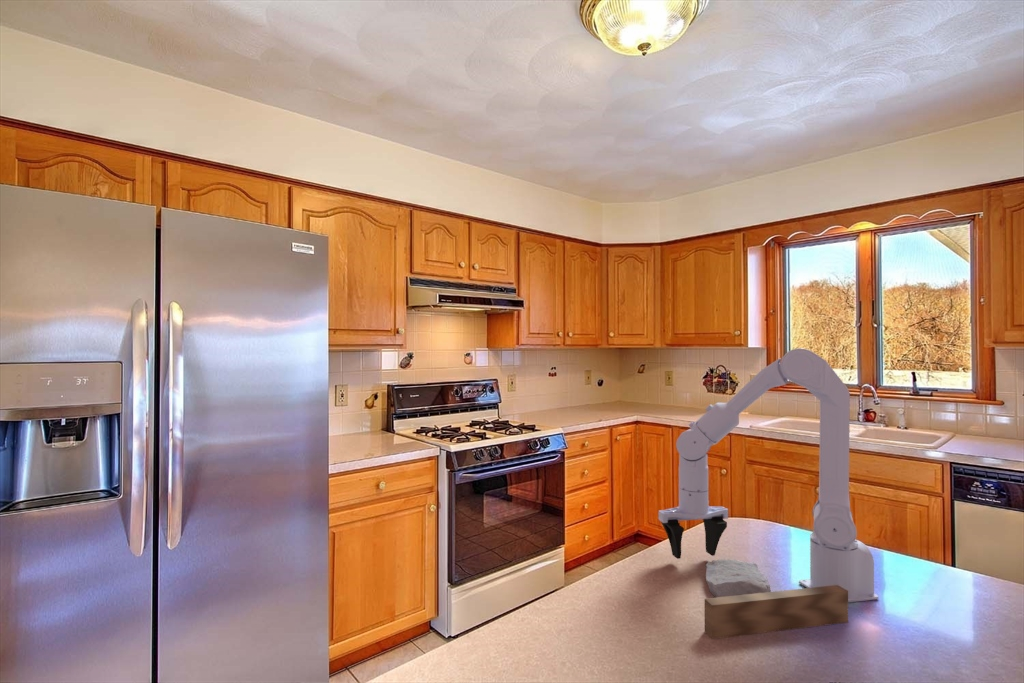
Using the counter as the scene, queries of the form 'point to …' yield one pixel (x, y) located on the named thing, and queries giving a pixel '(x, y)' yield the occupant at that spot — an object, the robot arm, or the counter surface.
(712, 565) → the stone block
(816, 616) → the walnut wall
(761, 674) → the counter surface
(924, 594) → the counter surface
